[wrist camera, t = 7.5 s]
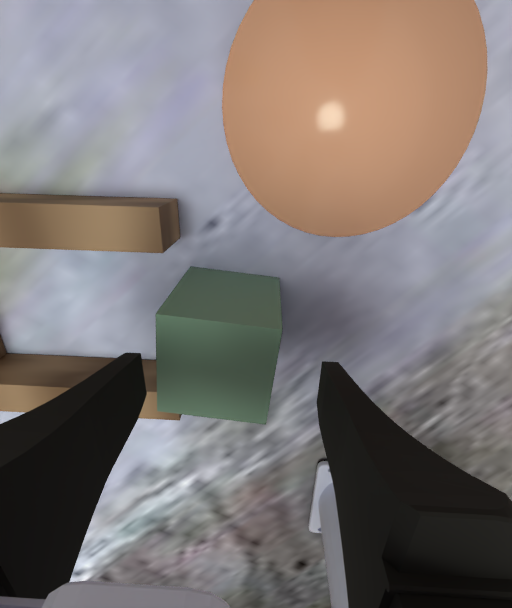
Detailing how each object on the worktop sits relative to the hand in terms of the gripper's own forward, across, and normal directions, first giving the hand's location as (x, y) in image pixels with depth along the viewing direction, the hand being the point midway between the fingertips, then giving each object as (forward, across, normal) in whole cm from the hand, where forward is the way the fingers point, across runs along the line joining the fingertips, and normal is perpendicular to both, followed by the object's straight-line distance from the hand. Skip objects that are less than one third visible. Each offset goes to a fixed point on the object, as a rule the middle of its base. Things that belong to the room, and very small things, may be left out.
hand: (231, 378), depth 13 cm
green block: (+7, +1, 0) cm, 7 cm away
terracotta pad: (+7, -4, -10) cm, 13 cm away
